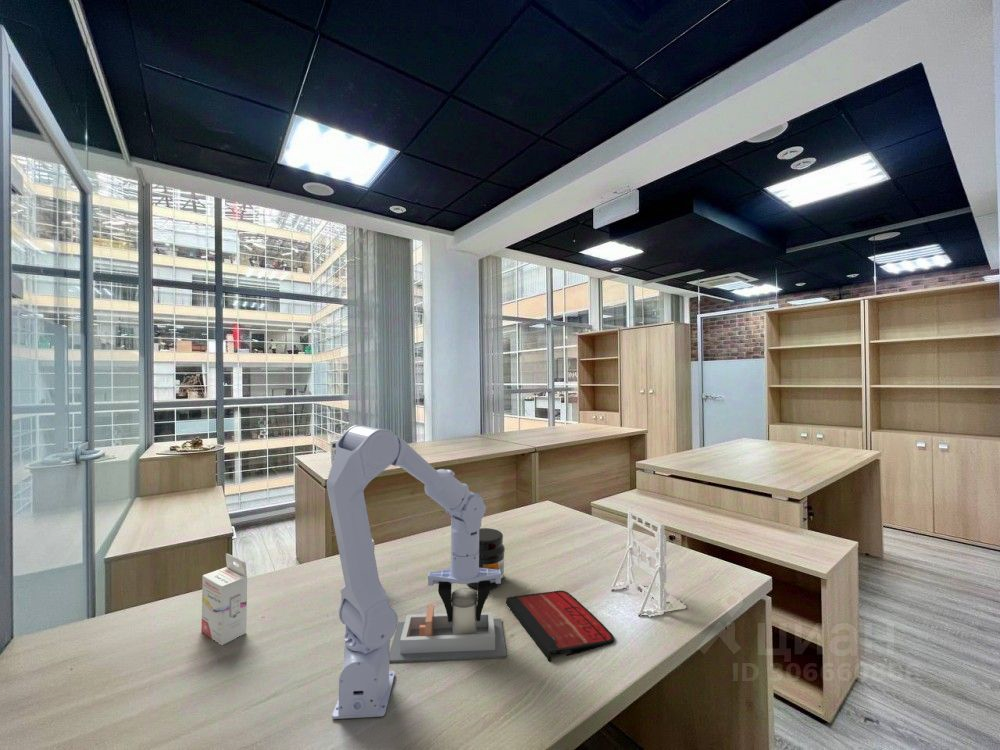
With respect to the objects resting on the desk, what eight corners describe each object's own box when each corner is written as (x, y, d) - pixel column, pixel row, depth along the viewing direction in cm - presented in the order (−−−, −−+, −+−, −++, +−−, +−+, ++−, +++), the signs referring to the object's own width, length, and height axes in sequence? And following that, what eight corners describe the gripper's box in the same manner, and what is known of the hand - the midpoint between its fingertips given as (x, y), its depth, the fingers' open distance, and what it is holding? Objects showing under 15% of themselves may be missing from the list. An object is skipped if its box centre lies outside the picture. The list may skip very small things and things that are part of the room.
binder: (548, 651, 76) (505, 596, 96) (548, 664, 76) (504, 606, 96) (619, 636, 82) (564, 587, 102) (618, 648, 82) (564, 596, 101)
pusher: (431, 647, 79) (431, 621, 79) (417, 648, 79) (417, 621, 79) (433, 628, 85) (434, 604, 85) (421, 629, 85) (421, 604, 85)
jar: (477, 636, 80) (477, 601, 80) (450, 638, 80) (450, 601, 80) (476, 621, 85) (477, 587, 85) (451, 622, 85) (452, 588, 85)
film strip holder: (693, 610, 94) (693, 522, 94) (641, 619, 90) (641, 528, 90) (653, 580, 108) (653, 504, 108) (606, 587, 104) (606, 508, 104)
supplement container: (511, 585, 104) (511, 538, 104) (472, 594, 100) (473, 545, 100) (494, 568, 114) (494, 524, 114) (458, 575, 109) (458, 530, 109)
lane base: (506, 657, 77) (506, 642, 77) (387, 662, 75) (387, 646, 75) (501, 620, 89) (501, 606, 89) (398, 623, 87) (398, 610, 87)
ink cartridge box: (199, 632, 84) (200, 560, 84) (225, 620, 88) (227, 551, 88) (220, 647, 79) (222, 570, 80) (247, 633, 84) (248, 561, 84)
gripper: (499, 542, 87) (498, 606, 87) (430, 543, 86) (429, 608, 86) (501, 556, 80) (501, 626, 80) (427, 558, 79) (426, 629, 79)
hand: (464, 618), depth 82 cm, fingers closed on jar, 5 cm apart
